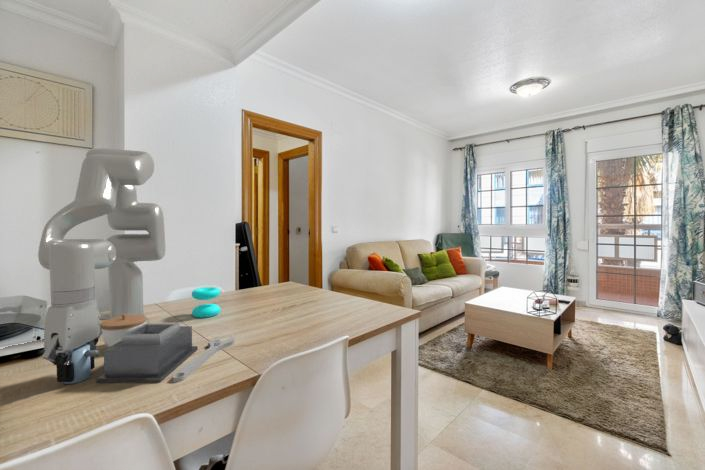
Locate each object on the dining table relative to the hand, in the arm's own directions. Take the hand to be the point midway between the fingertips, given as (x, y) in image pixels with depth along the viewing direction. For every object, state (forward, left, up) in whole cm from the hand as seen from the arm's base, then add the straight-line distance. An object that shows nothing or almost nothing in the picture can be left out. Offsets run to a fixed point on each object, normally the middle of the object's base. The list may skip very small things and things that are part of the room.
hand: (76, 374), depth 72 cm
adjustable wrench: (+24, +11, -2) cm, 26 cm away
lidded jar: (-2, +19, -1) cm, 19 cm away
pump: (+1, 0, -1) cm, 1 cm away
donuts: (+8, +50, -1) cm, 51 cm away
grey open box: (+13, +7, -1) cm, 15 cm away
